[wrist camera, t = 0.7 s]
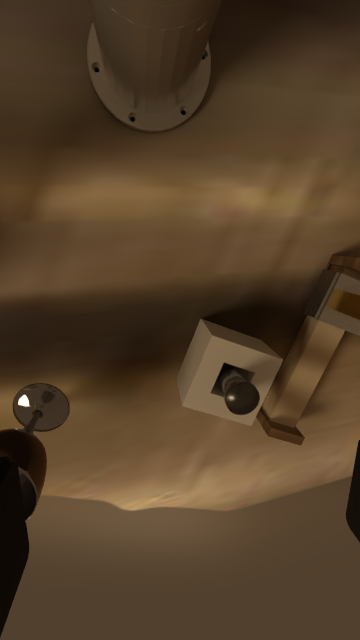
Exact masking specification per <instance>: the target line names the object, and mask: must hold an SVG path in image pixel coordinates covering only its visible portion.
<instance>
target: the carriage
mask: <svg viewBox="0 0 360 640" xmlns="http://www.w3.org/2000/svg"><path fill="white" fill-rule="evenodd" d="M303 313H305V314H307V315H309V316H311V317H313V318H315V319H317V320H319V321H322V322H325V323H327V324H330V325H332V326H335V327H338V328H340V329H343V330H345V331H348V332H351V333H353V334H356V335H358V336H360V281H359V280H356V279H354V278H352V277H349V276H347V275H345V274H342V273H339V272H335V271H330V270H325V269H323V270H322V272H321V275H320V277H319V279H318V281H317V283H316V285H315V287H314V289H313V291H312V293H311V295H310V297H309V299H308V302H307V304H306V306H305V308H304V310H303Z"/></svg>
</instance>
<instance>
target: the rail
mask: <svg viewBox="0 0 360 640" xmlns="http://www.w3.org/2000/svg"><path fill="white" fill-rule="evenodd" d="M328 264H331V267H330V269H329V270H330V271H335V272H339V273H342V274H345V275H347V276H349V277H352V278H354V279H356V280H359V281H360V258H357V257H349V256H340V255H332V257H331V259H330V261H329V263H328ZM344 332H345V330H343V329H340V328H338V327H335V326H332V325H330V324H327V323H325V322H322V321H319V320H317V319H315V318H313V317H311V316H309V315H307V316H306V318H305V320H304V322H303V324H302V326H301V328H300V330H299V332H298V335H297V337H296V339H295V341H294V343H293V345H292V347H291V349H290V351H289V353H288V355H287V357H286V359H285V361H284V363H283V365H282V367H281V369H280V371H279V374H278V376H277V378H276V380H275V382H274V384H273V386H272V388H271V390H270V392H269V394H268V396H267V398H266V400H265V402H264V404H263V406H262V408H260V409H259V411H258V413H257V415H256V417H257V419H258V421H259V422H260V424H261V425H262V427H263V429H264V430H265V432H266V434H267V435H268V436H270V437H273V438H277V439H280V440H284V441H287V442H291V443H294V444H298V445H301V444H302V442H303V440H304V436H303V435H302V434H301V433H300V431H299V430H298V429H297V428H296V424H297V422H298V420H299V419H300V417H301V415H302V413H303V411H304V409H305V407H306V405H307V403H308V401H309V399H310V397H311V395H312V393H313V392H314V390H315V388H316V386H317V384H318V382H319V380H320V378H321V376H322V374H323V372H324V370H325V368H326V367H327V365H328V363H329V361H330V359H331V357H332V355H333V353H334V351H335V349H336V347H337V345H338V343H339V342H340V340H341V338H342V336H343V334H344Z"/></svg>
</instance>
